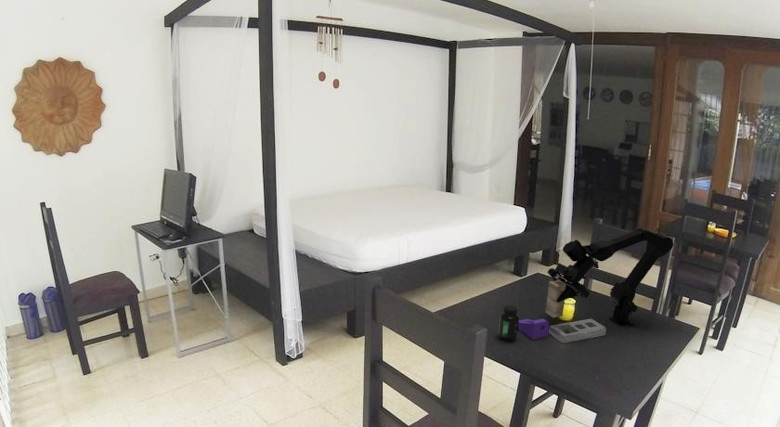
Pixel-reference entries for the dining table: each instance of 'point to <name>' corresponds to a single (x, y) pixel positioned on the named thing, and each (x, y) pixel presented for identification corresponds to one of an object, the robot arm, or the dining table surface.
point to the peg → (555, 299)
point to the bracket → (534, 328)
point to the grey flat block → (577, 330)
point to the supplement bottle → (508, 324)
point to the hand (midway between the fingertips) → (553, 299)
